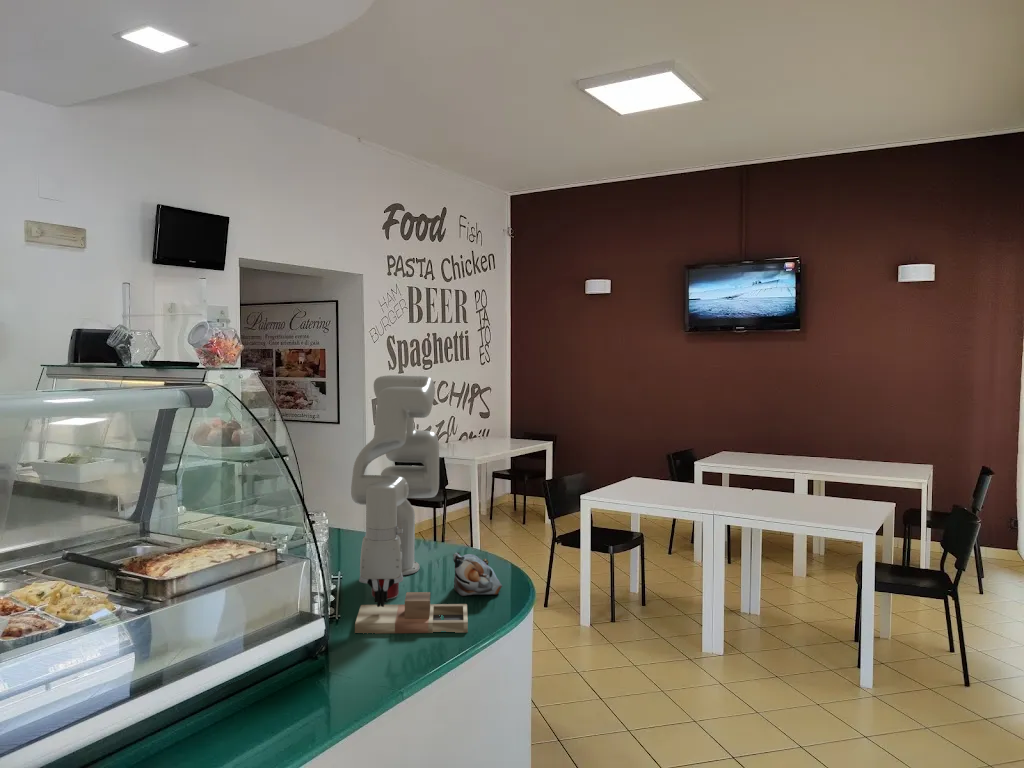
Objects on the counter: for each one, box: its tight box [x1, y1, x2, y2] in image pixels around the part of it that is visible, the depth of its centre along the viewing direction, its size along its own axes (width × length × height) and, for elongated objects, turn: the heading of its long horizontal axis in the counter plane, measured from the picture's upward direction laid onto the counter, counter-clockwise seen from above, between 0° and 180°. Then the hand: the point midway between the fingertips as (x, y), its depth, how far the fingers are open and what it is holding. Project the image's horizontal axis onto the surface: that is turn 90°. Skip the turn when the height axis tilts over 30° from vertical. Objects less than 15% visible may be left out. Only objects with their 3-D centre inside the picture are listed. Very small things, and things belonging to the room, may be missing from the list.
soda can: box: [371, 579, 400, 601], centre depth 206 cm, size 7×7×12 cm
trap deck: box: [354, 603, 469, 635], centre depth 188 cm, size 12×27×2 cm, turn 94°
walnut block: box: [404, 591, 431, 619], centre depth 188 cm, size 6×6×4 cm
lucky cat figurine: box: [452, 552, 503, 597], centre depth 209 cm, size 15×12×14 cm
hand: (381, 604), depth 188 cm, fingers closed
